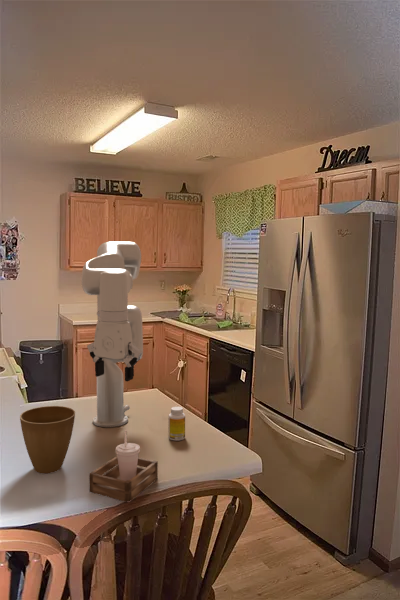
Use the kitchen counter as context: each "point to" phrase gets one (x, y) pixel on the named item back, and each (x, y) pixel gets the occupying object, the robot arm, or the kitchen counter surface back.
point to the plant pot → (47, 436)
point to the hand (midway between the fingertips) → (114, 377)
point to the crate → (118, 488)
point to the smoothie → (127, 459)
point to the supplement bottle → (176, 424)
